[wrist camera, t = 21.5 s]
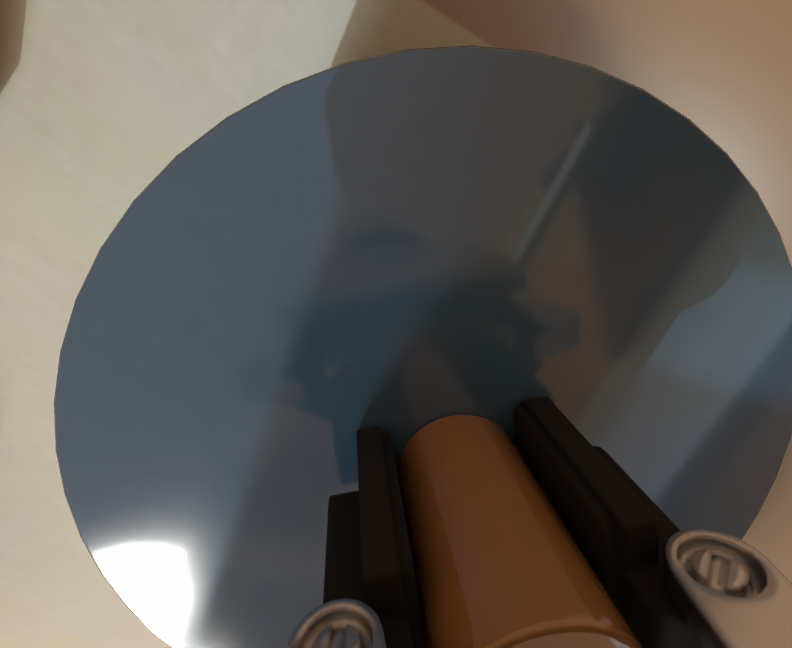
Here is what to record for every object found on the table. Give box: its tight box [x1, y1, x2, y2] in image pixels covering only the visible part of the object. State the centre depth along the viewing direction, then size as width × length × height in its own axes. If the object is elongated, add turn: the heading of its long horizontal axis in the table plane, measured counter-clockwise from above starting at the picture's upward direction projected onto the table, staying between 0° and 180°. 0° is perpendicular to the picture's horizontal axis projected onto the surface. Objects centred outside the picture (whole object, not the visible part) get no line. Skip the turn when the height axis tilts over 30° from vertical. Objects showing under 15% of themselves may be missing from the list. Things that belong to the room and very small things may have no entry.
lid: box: [54, 46, 792, 648], centre depth 9 cm, size 17×17×6 cm
